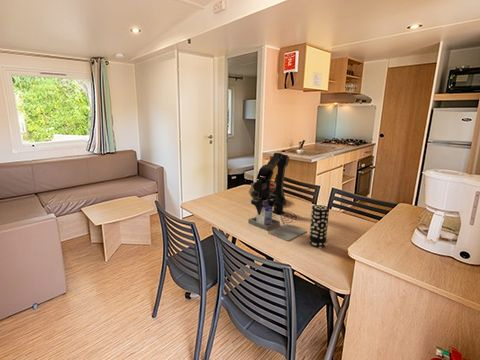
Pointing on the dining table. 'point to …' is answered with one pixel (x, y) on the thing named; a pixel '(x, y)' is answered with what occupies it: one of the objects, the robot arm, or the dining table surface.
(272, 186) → the dark brown bowl
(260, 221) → the ink cartridge box
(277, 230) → the mat
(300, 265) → the dining table surface
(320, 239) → the spotted tube
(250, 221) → the grey rectangular frame
